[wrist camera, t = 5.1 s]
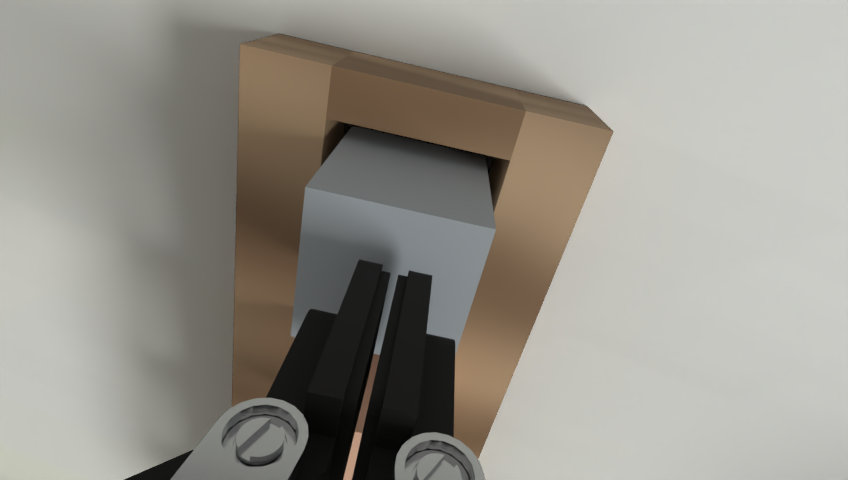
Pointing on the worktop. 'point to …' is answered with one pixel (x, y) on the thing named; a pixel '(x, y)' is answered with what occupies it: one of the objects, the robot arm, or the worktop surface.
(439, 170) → the grey block
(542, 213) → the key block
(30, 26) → the worktop surface
